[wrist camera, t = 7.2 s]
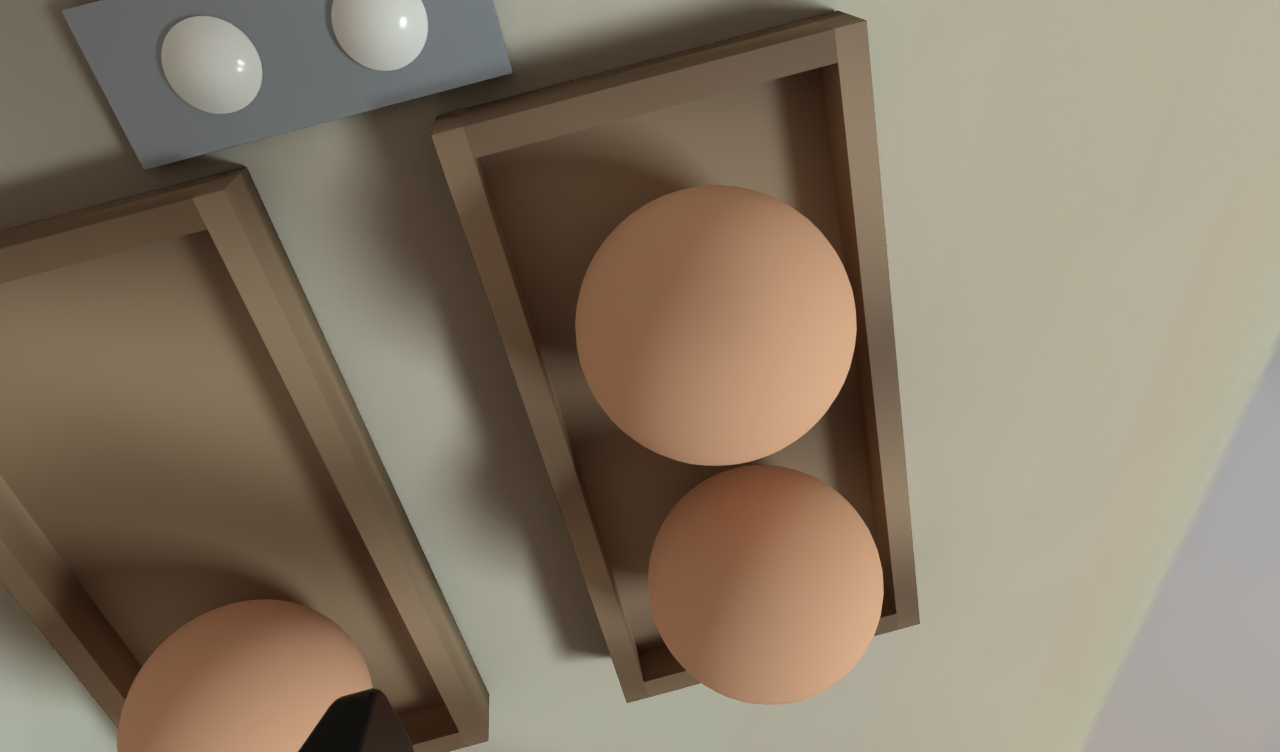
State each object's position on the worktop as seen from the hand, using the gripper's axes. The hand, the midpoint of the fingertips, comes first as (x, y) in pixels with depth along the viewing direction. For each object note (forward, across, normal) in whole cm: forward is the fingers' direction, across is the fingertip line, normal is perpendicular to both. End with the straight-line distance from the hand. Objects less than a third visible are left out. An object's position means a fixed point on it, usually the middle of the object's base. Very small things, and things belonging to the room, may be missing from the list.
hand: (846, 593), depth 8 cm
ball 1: (+6, +10, +6) cm, 13 cm away
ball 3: (+6, 0, +6) cm, 9 cm away
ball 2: (+6, 0, 0) cm, 6 cm away
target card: (+9, +5, -5) cm, 11 cm away
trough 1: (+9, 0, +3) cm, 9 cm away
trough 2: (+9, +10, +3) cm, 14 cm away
